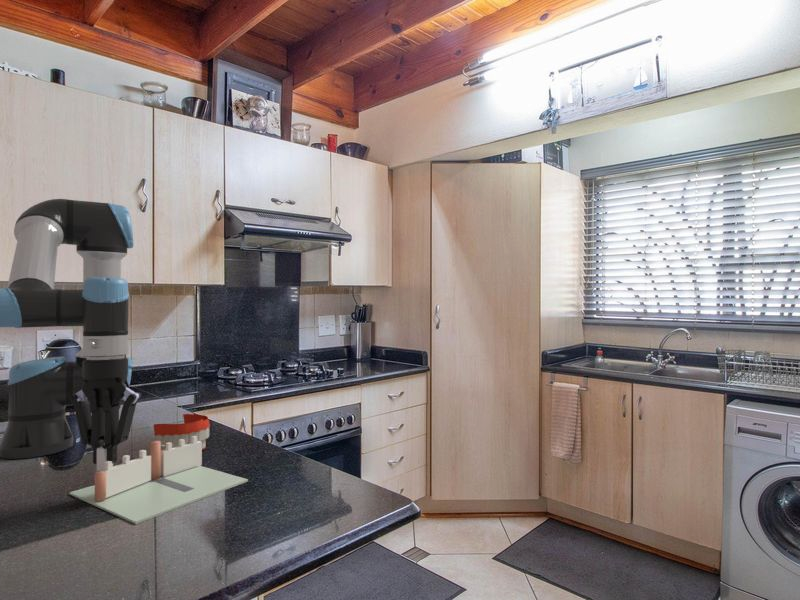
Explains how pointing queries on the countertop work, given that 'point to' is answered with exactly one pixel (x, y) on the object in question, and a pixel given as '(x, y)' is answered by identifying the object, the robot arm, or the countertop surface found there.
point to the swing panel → (122, 475)
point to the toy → (183, 431)
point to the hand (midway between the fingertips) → (105, 480)
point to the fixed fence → (174, 457)
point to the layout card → (162, 493)
